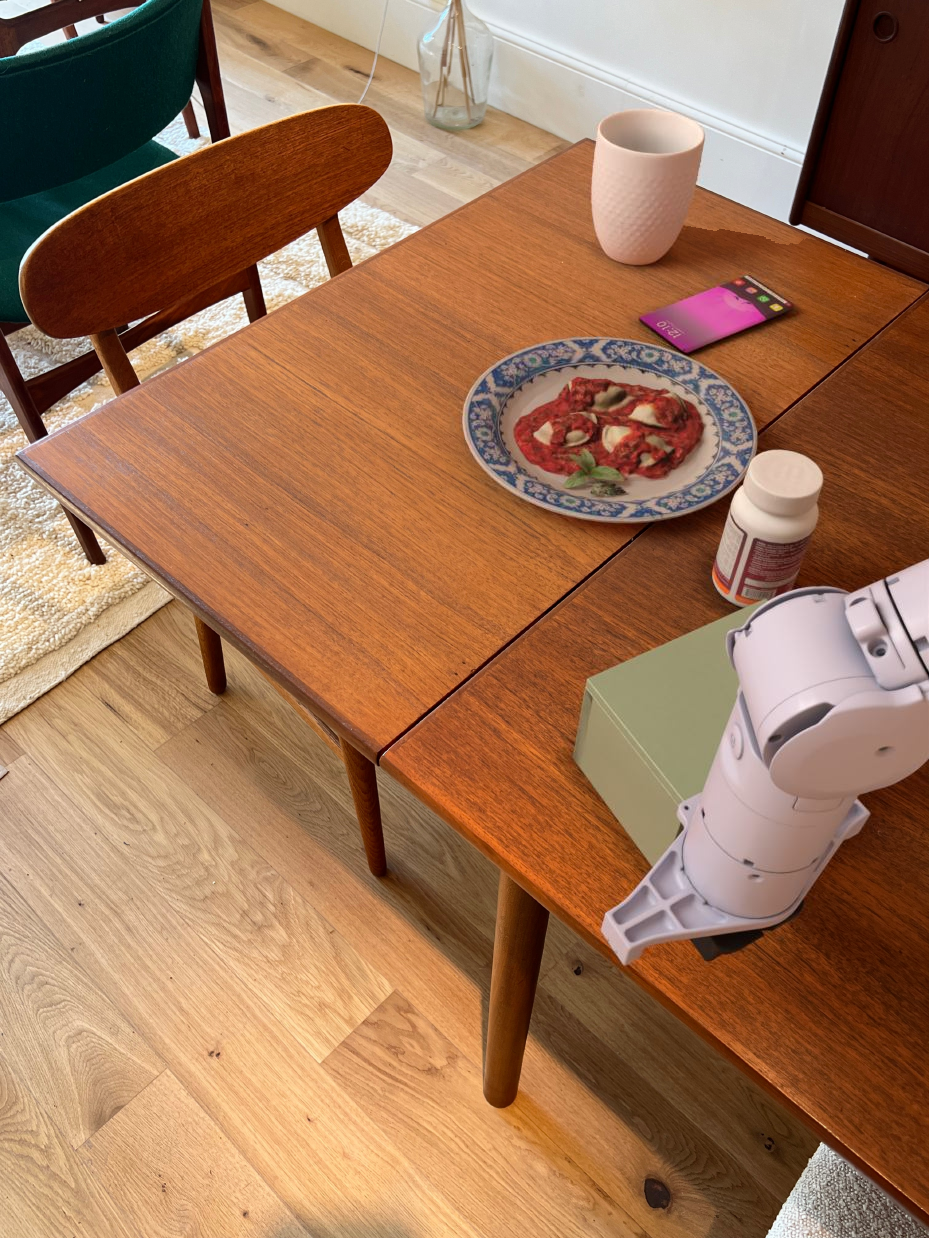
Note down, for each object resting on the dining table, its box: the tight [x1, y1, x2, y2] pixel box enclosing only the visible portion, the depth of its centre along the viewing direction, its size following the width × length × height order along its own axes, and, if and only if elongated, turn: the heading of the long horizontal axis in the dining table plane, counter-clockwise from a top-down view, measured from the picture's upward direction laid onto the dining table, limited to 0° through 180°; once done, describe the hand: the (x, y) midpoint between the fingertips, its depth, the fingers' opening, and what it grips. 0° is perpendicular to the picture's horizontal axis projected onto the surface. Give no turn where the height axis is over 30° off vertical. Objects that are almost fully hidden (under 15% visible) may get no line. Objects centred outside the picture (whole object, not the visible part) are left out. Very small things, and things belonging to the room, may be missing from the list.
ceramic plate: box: [461, 336, 758, 524], centre depth 88 cm, size 26×26×3 cm
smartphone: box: [638, 274, 795, 355], centre depth 102 cm, size 7×15×1 cm, turn 122°
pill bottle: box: [711, 449, 824, 609], centre depth 73 cm, size 6×6×11 cm
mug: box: [590, 108, 706, 266], centre depth 107 cm, size 15×11×13 cm
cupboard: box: [572, 599, 768, 868], centre depth 63 cm, size 11×14×9 cm
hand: (705, 940), depth 54 cm, fingers closed
